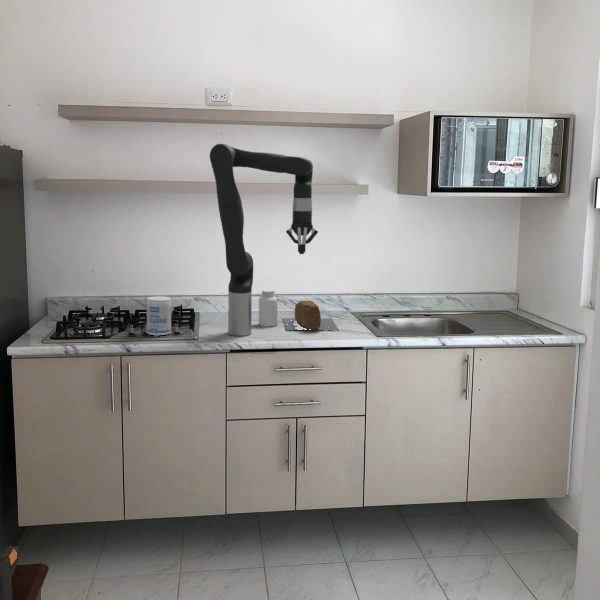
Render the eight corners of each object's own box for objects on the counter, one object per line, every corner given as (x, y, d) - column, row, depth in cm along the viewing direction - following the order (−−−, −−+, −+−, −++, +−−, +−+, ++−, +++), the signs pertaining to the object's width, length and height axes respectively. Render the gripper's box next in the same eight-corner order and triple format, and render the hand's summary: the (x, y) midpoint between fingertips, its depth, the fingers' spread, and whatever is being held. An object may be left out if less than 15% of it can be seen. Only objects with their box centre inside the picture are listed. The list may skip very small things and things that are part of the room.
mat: (286, 331, 306) (286, 330, 306) (282, 318, 330) (282, 318, 330) (339, 330, 308) (339, 330, 308) (331, 319, 332) (331, 318, 332)
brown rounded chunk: (304, 331, 305) (293, 321, 324) (321, 330, 307) (310, 321, 326) (304, 305, 303) (293, 297, 322) (321, 304, 305) (310, 296, 324)
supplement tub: (149, 337, 290) (148, 300, 288) (144, 332, 299) (143, 296, 296) (174, 336, 294) (173, 299, 291) (168, 331, 303) (167, 295, 300)
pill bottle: (259, 327, 312) (259, 292, 310) (257, 323, 320) (257, 288, 317) (278, 327, 314) (278, 291, 311) (275, 322, 321) (276, 288, 319)
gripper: (318, 209, 293) (317, 253, 297) (284, 208, 292) (284, 252, 295) (320, 210, 286) (319, 255, 289) (286, 210, 285) (285, 255, 288)
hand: (301, 253), depth 292 cm, fingers closed
